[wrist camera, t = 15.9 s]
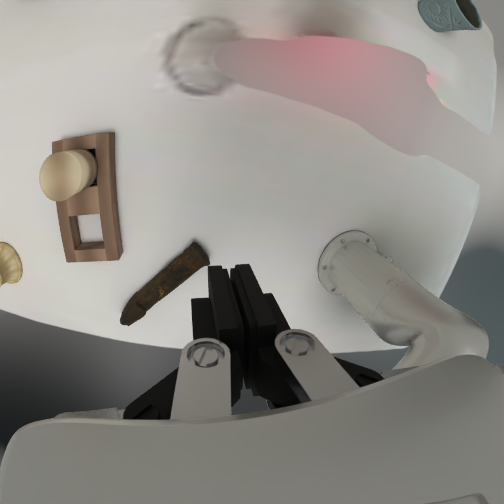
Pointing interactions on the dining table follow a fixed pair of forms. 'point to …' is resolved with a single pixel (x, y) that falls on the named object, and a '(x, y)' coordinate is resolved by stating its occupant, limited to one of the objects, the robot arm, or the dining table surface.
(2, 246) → the hand bell
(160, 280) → the hand tool
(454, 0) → the grey embossed cup
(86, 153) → the oak peg
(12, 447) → the robot arm
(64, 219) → the walnut board
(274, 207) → the dining table surface
